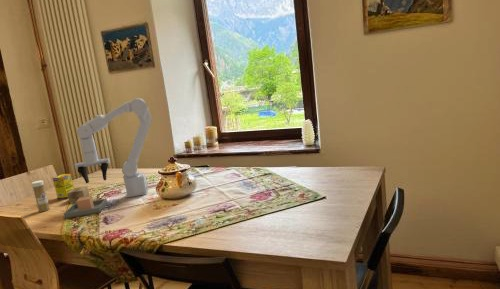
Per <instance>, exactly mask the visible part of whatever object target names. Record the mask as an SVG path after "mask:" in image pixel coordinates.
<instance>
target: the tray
mask: <svg viewBox="0 0 500 289" xmlns="http://www.w3.org/2000/svg"><path fill="white" fill-rule="evenodd" d="M93 204H94V207H93V208H92V209H86V210H80V211H79V209H78V205H77V203H72V205H71V206H70V207H69V208H68V209H67V210H66V211H65V212H64V213H63V216H64V220H67V219H73V218H77V217H78V216H79V217H84V216H89V215H88V214H90V215H96V214H100V213H101V212H102V211H103V210H104V208H105V207H106V206H107V204H108V200H107V198H101V199H96V200H95V199H94V200H93ZM83 215H84V216H83ZM72 217H73V218H72ZM79 217H78V218H79Z"/></svg>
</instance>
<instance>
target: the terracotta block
mask: <svg viewBox="0 0 500 289" xmlns="http://www.w3.org/2000/svg"><path fill="white" fill-rule="evenodd" d="M93 201H94V200H93V196H92V195H91V194H90V195H89V196H85V197H80V198H79V199H78V200H77V202H76V204H77V205H78V209H79V211H80V210H86V209H92V208H93V207H94V204H93Z"/></svg>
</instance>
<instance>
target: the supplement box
mask: <svg viewBox="0 0 500 289" xmlns="http://www.w3.org/2000/svg"><path fill="white" fill-rule="evenodd" d="M52 182H53V185H54V189H55V193H56V198H57V200H64V199H65V200H69V199H68V195H67V193H68V192H69V191H70V190H71V189H73V188H75V187H74V183H73V179H72V174H71V173H64V174H60V175H57V176H54V177H52Z"/></svg>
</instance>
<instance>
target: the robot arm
mask: <svg viewBox="0 0 500 289" xmlns="http://www.w3.org/2000/svg"><path fill="white" fill-rule="evenodd" d="M131 112H133V113H134V114H135V115H137V118H138V119H139V121H140V122H139V124H138V128H137V130H136V134H135V135H134V139H133V143H132V145H131V149H130V151H129V155H128V157H127V159H126V160H125V161H124V162H123V166H122V167H121V168H122V169H121V173H122V174H123V175H122V178H123V182H124V187H125V191H126V194H125V196H124V198H125V199H126V198H131V197H133V198H134V197H138V196H139V197H140V196H142V195H143V196H144V195H147V193H148V191H149V187H148V183H147V182H148V181H147V177H146V174H145V173H140V171H138V162H139V158H140V156H141V152H142V150H143V146H144V143H145V141H146V138H147V135H148V132H149V129H150V126H151V124H152V116H151V112H150V109H149V106H148V104H147V103H146V101H145V100H144V99H143V98H142V97H136V98H133V100H130V101H126V102H124V103H123V104H121V105H119V106H118V107H116V108H114V109H112V110H111V111H110V112H108V113H107V114H105V115H104V114H99V115H98V114H96V115H94V117H93V118H92V119H90V120H88V121H85V122H84V124H81V125H80V126H79V127H78V128H77V129H76V134H77V137H79V141H80V147H81V152H82V155H83V160H84V161H82V162H78V163H77V162H76V163H75V164H74V169H77V172H78V173H79V174H80V175H81V176H82V178H83V180H84V182H85V183H86V184H88V183H89V182H90V180H89V176H88V170H87V167H92V166H99V168H100V171H101V174H102V179H103V181H106V180H107V173H108V171H107V170H108V166H109V164H110V163H111V161H110V158H109V157H108V158H107V157H106V158H99V155H98V152H97V146H96V142H95V139H94V135H93V134H97V133H98V132H100V131H101V130H103V129H104V128H106V127H108V126H109V124H110V123H109V122H110V121H112V120H114V119H115V118H117V117H119V116H121V115H123V114H125V113H131Z"/></svg>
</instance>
